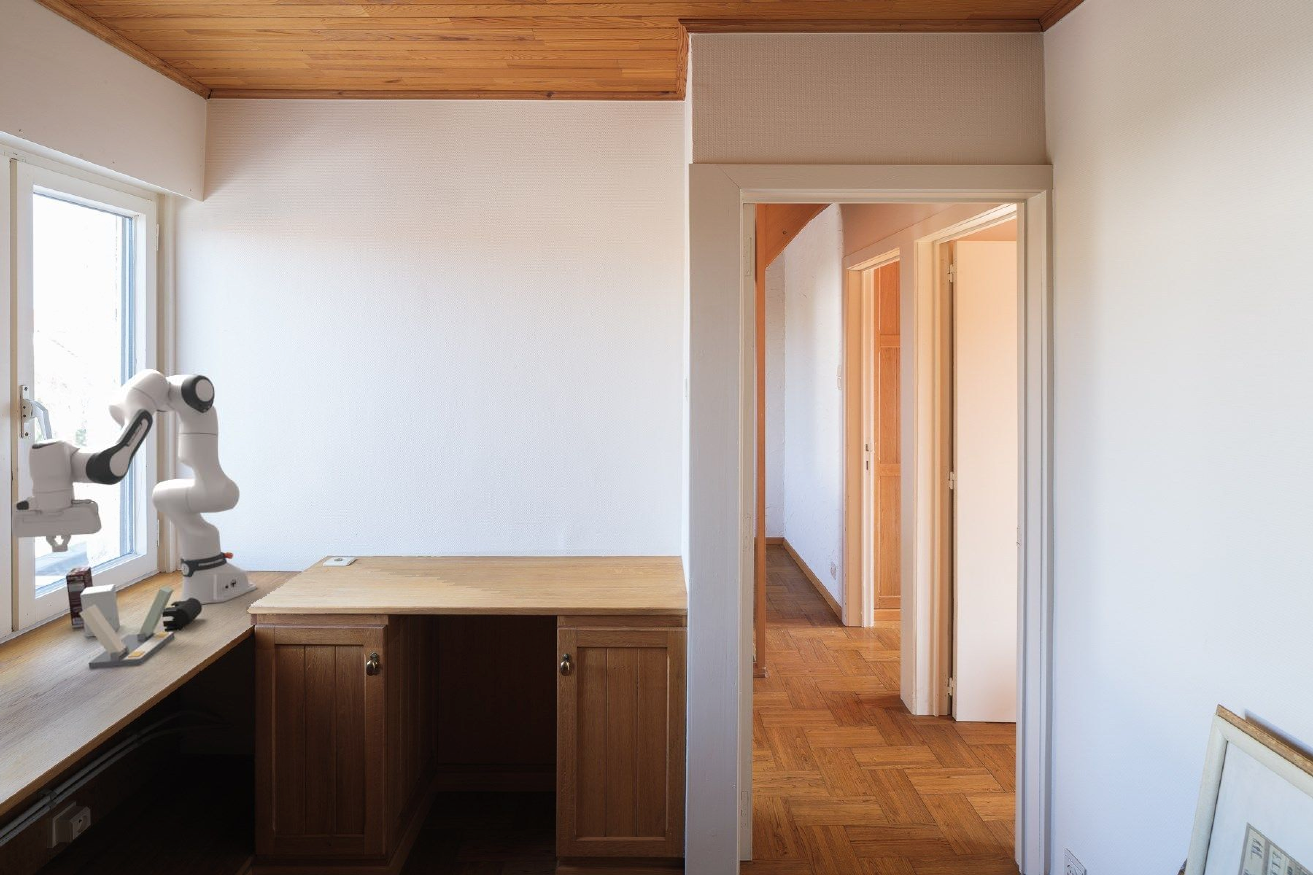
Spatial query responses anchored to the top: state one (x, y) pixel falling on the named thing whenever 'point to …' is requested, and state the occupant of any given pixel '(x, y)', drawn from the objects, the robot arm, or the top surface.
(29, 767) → the top surface
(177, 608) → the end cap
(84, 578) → the supplement box
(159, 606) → the bar
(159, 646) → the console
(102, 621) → the bar
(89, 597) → the supplement box
